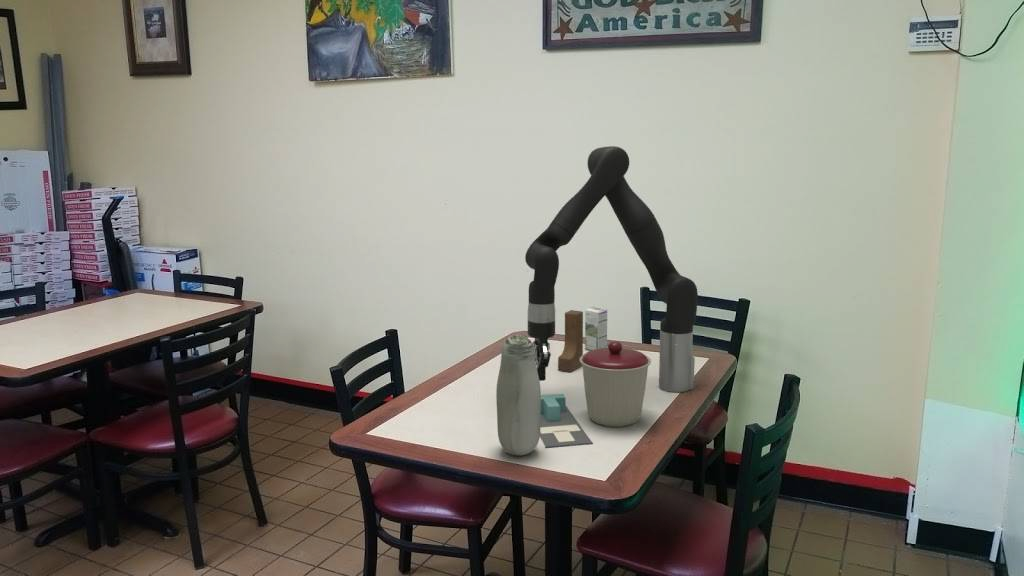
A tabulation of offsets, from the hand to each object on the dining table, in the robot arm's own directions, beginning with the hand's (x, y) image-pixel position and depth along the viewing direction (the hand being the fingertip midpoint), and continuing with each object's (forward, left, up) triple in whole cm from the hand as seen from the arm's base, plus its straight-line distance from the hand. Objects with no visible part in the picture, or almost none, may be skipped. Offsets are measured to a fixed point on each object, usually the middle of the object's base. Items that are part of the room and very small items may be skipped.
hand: (541, 379), depth 205 cm
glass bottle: (+12, +31, -7) cm, 34 cm away
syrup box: (-30, -49, -7) cm, 58 cm away
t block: (0, +10, -7) cm, 12 cm away
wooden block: (-16, -30, -7) cm, 35 cm away
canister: (-16, +16, -7) cm, 24 cm away
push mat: (0, +16, -7) cm, 18 cm away
